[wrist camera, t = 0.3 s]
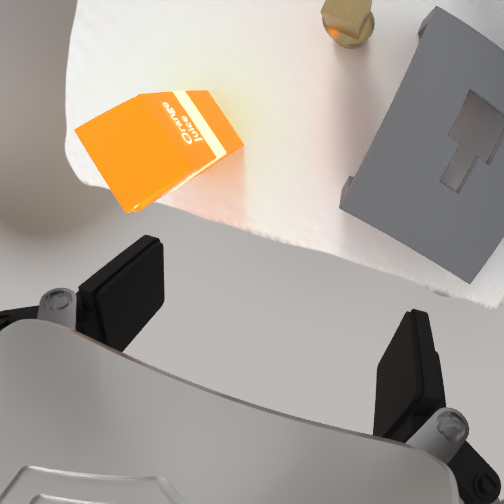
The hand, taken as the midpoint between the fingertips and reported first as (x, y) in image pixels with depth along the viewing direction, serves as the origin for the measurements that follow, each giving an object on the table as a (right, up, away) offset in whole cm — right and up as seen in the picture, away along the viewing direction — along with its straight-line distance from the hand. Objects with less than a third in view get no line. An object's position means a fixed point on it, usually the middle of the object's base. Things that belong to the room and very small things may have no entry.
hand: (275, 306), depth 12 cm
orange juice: (-7, +17, +29) cm, 34 cm away
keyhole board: (+22, +15, +20) cm, 33 cm away
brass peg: (+10, +27, +18) cm, 33 cm away
